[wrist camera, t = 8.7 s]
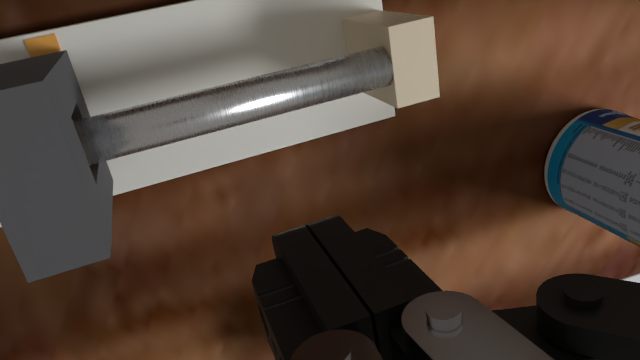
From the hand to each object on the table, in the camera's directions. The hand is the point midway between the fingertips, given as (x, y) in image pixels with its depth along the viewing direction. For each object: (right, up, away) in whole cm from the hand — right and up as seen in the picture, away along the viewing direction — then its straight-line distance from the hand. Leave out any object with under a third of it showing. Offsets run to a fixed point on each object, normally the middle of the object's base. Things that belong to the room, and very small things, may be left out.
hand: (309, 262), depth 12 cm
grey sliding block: (-13, +5, +15) cm, 20 cm away
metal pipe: (-7, +5, +14) cm, 16 cm away
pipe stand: (-8, +7, +18) cm, 21 cm away
